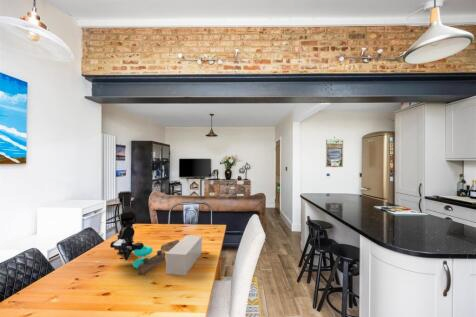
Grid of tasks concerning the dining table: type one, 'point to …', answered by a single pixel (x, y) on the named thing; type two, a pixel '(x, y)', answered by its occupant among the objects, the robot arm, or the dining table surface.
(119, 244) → the robot arm
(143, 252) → the donuts
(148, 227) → the dining table surface
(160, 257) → the bar
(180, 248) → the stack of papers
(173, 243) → the wooden fragment
